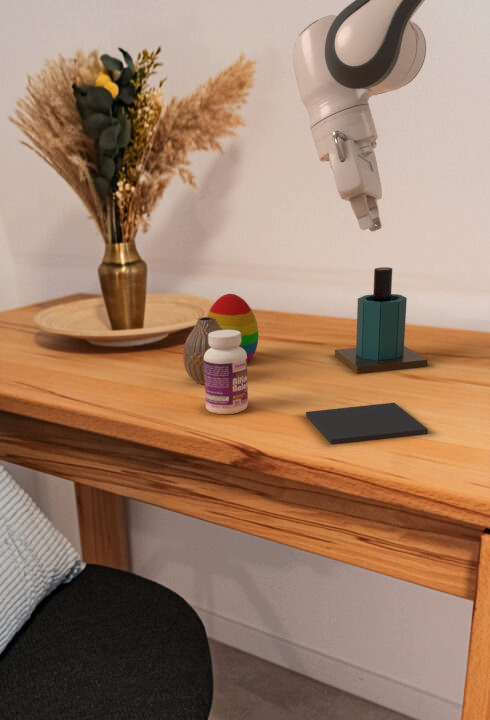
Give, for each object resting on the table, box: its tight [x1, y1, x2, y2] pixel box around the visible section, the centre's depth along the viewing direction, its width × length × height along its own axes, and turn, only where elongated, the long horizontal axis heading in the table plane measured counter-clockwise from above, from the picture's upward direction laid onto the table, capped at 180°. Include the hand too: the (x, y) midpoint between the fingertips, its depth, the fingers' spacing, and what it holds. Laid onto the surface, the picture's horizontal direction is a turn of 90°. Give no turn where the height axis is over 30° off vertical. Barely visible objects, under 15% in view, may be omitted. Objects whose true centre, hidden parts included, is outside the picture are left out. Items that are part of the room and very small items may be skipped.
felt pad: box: [305, 402, 429, 445], centre depth 97 cm, size 11×10×1 cm
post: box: [334, 266, 428, 375], centre depth 118 cm, size 10×10×13 cm
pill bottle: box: [204, 330, 249, 415], centre depth 104 cm, size 5×5×10 cm
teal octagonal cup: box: [355, 293, 408, 361], centre depth 119 cm, size 6×6×8 cm
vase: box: [182, 316, 222, 385], centre depth 116 cm, size 7×7×9 cm
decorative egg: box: [206, 293, 259, 363], centre depth 124 cm, size 8×8×10 cm
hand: (372, 229), depth 127 cm, fingers open, 8 cm apart
